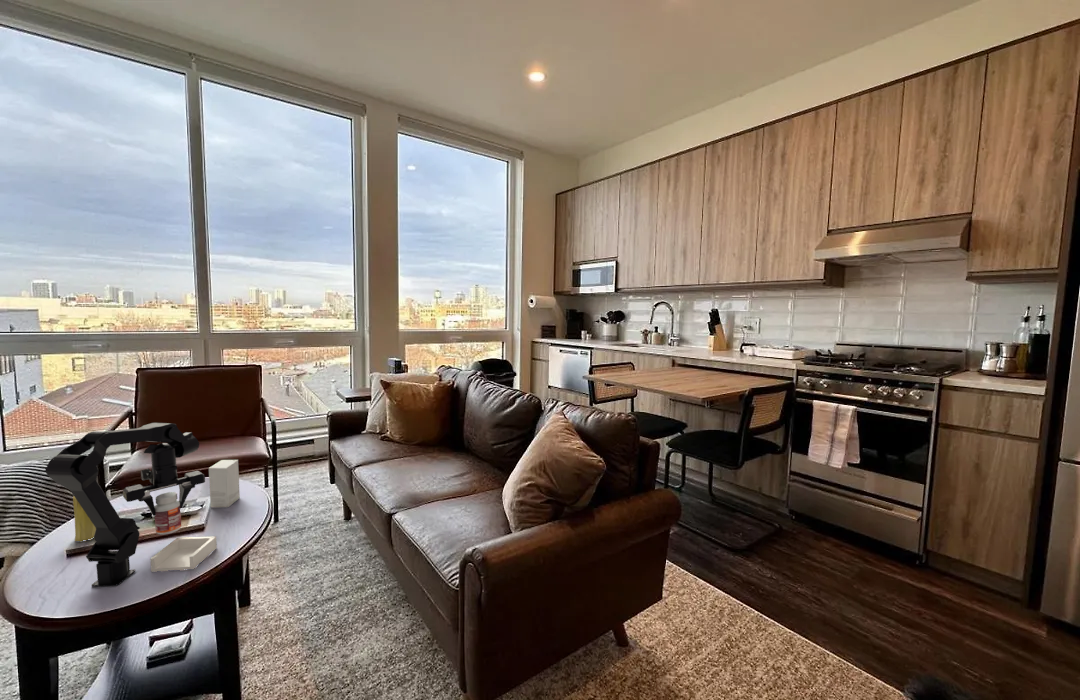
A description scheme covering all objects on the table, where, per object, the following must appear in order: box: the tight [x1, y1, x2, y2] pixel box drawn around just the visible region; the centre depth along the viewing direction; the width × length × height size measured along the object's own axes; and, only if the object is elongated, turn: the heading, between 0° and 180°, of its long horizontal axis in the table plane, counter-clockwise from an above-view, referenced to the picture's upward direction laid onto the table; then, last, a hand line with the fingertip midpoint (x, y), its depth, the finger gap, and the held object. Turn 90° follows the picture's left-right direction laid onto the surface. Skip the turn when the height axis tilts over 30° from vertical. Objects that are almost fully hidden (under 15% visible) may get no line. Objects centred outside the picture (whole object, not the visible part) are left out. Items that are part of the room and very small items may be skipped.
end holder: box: [149, 535, 218, 573], centre depth 130 cm, size 11×11×4 cm
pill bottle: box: [154, 491, 182, 535], centre depth 137 cm, size 6×6×11 cm
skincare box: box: [208, 459, 241, 509], centre depth 166 cm, size 8×7×16 cm
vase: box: [72, 496, 96, 542], centre depth 140 cm, size 6×6×14 cm
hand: (167, 511), depth 137 cm, fingers closed on pill bottle, 6 cm apart
